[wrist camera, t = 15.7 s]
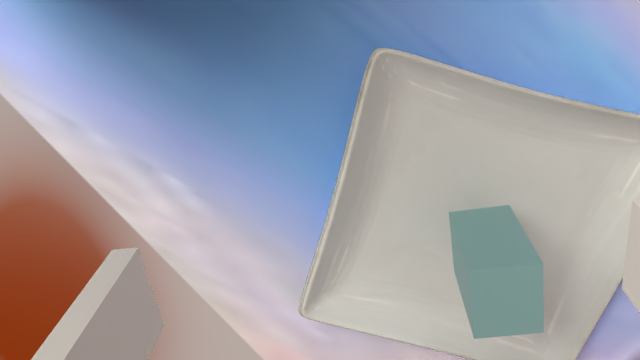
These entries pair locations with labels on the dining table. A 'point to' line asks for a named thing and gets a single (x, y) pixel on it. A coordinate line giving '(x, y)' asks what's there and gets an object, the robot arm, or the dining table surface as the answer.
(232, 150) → the dining table surface
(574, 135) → the square plate
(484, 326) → the teal block
